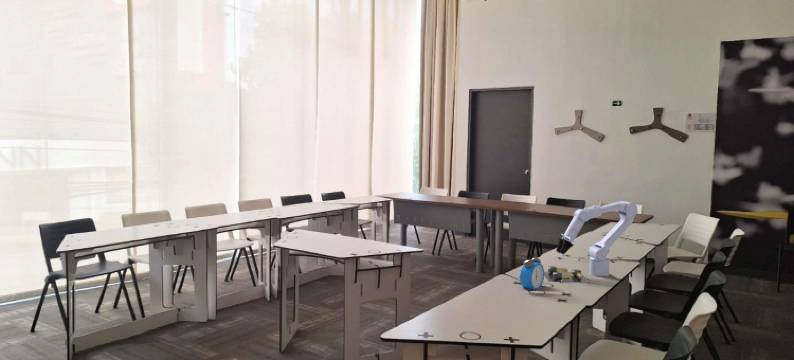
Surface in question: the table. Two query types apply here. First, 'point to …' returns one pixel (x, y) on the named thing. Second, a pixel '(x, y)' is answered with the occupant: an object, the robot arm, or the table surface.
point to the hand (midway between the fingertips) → (559, 252)
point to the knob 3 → (576, 273)
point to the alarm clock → (532, 273)
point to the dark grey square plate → (573, 279)
